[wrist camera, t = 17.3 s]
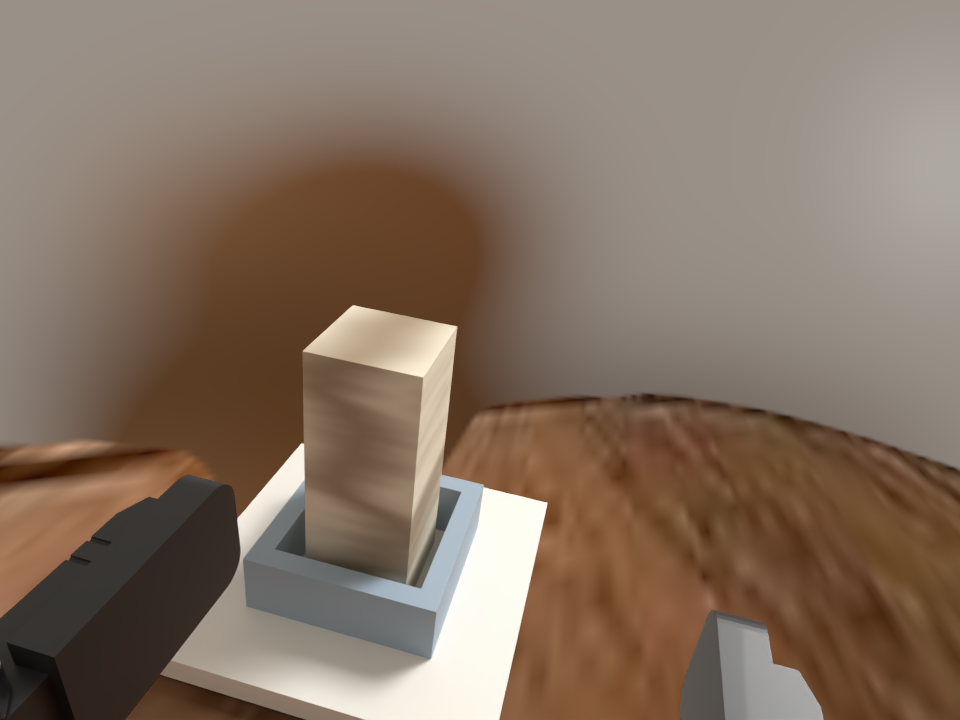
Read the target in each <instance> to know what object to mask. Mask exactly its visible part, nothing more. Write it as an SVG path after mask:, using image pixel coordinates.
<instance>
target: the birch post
mask: <svg viewBox="0 0 960 720" xmlns="http://www.w3.org/2000/svg"><path fill="white" fill-rule="evenodd" d="M456 331H457V327H456V326H451V325H447V324H441V323H436V322H432V321H427V320H422V319H417V318H412V317H407V316H402V315H397V314H393V313H388V312H383V311H378V310H373V309H368V308H363V307H358V306H352V307H350V308H349V309H348V310H347V311H346V312H345V313H344V314H343V315H342V316H341V317H340V318H338V319H337V320H336V321H335V322H334V323H333V324H332V325H331V326H330V327H329V328H328V329H326V330H325V332H323V333H322V334H321V335H320V336H319V337H318V338H317V339H315V341H313V342H312V343H311V344H310V345H309V346H308V347H307V348H306V349H305V350H303V405H304V471H305V538H306V558H309V559H313V560H316V561H320V562H324V563H328V564H331V565H335V566H339V567H342V568H346V569H350V570H354V571H357V572H361V573H365V574H368V575H372V576H376V577H379V578H383V579H387V580H391V581H394V582H398V583H402V584H405V585H409V586H413V587H415V586H416V584H417V582H418V579H419V577H420V574H421V572H422V570H423V567H424V565H425V563H426V560H427V558H428V556H429V553H430V551H431V549H432V546H433V544H434V538H435V529H436V520H437V510H438V501H439V492H440V482H441V473H442V463H443V453H444V444H445V435H446V426H447V417H448V407H449V398H450V388H451V379H452V370H453V360H454V350H455V341H456Z"/></svg>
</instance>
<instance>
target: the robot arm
mask: <svg viewBox="0 0 960 720" xmlns="http://www.w3.org/2000/svg"><path fill="white" fill-rule="evenodd" d="M240 553H241V549H240V539H239V530H238V522H237V513H236V504H235V496H234V491H233V489H232V487H231V486H229V485H226V484H223V483H219V482H215V481H211V480H207V479H203V478H200V477H196V476H192V475H186V476H183V477H181V478H180V479H179V480H177V481H176V482H175V483H174V484H173V485H172V486H171V487H170V488H169V489H168V490H167V491H166V492H165V493H163V494H162V495H161V496H160V497H159V498H158V499H155V498H151V497H148V498H146V499H144V500H142V501H140V502H138V503H136V504H135V505H133V506H131V507H129V508H127V509H125V510H123V511H121V512H119V513H117V514H116V515H115V516H114V517H113V518H111V519H110V520H109V521H108V522H107V523H106V524H105V525H104V526H103V527H101V528H100V529H99V530H98V531H97V532H96V533H95V534H94V535H93V536H92V538H91V540H90V541H86V542H85V543H84V544H83V545H81V546H80V547H79V548H78V549H77V550H76V551H75V552H74V553H73V554H71V557H70V559H69V560H68V561H67V560H65V561H64V562H63V563H61V564H60V565H59V566H58V567H57V568H56V569H55V570H54V571H53V572H51V573H50V574H49V575H48V576H47V577H46V578H45V579H44V580H43V581H41V582H40V583H39V584H38V585H37V586H36V587H35V588H34V589H33V590H31V591H30V592H29V593H28V594H27V595H26V596H25V597H24V598H23V599H21V600H20V601H19V602H18V603H17V604H16V605H15V606H14V607H13V608H11V609H10V610H9V611H8V612H7V613H6V614H5V615H4V616H3V617H1V618H0V720H125V719H126V718H127V716H128V715H129V714H130V713H131V711H132V710H133V709H134V707H135V706H136V705H137V704H138V702H139V701H140V700H141V698H142V697H143V696H144V694H145V693H146V692H147V691H148V689H149V688H150V687H151V685H152V684H153V683H154V682H155V680H156V679H157V678H158V676H159V675H160V674H161V673H162V671H163V670H164V669H165V667H166V666H167V665H168V663H169V662H170V661H171V660H172V658H173V657H174V656H175V654H176V653H177V652H178V651H179V649H180V648H181V647H182V645H183V644H184V643H185V641H186V640H187V639H188V638H189V636H190V635H191V634H192V632H193V631H194V630H195V629H196V627H197V626H198V625H199V623H200V622H201V621H202V620H203V618H204V617H205V616H206V614H207V613H208V612H209V610H210V609H211V608H212V607H213V605H214V604H215V603H216V601H217V600H218V599H219V598H220V596H221V595H222V594H223V592H224V591H225V590H226V588H227V587H228V586H229V584H230V583H231V581H232V579H233V577H234V575H235V573H236V570H237V567H238V564H239V560H240ZM680 720H824V719H823V714H822V710H821V707H820V705H819V703H818V702H817V700H816V698H815V697H814V695H813V694H812V692H811V690H810V689H809V687H808V685H807V684H806V682H805V680H804V679H803V677H802V676H801V674H800V672H799V671H798V670H795V669H791V668H787V667H784V666H780V665H776V664H773V661H772V655H771V649H770V643H769V637H768V631H767V628H766V626H765V624H764V623H763V622H759V621H755V620H751V619H747V618H743V617H739V616H735V615H731V614H727V613H723V612H719V611H715V610H711V611H710V612H709V614H708V616H707V619H706V621H705V624H704V627H703V629H702V632H701V635H700V637H699V640H698V643H697V645H696V648H695V651H694V653H693V656H692V659H691V662H690V664H689V667H688V670H687V672H686V676H685V680H684V684H683V690H682V697H681V707H680Z"/></svg>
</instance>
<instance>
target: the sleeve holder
mask: <svg viewBox="0 0 960 720" xmlns="http://www.w3.org/2000/svg"><path fill="white" fill-rule="evenodd" d="M546 507H547V503H546V502H541V501H537V500H533V499H529V498H525V497H521V496H517V495H512V494H508V493H504V492H500V491H496V490H492V489H488V488H484V485H482V484H478V483H474V482H470V481H465V480H461V479H457V478H453V477H449V476H445V475H441V482H440V492H439V501H438V510H437V520H436V529H435V538H434V544H433V546H432V549H431V551H430V553H429V556H428V558H427V560H426V563H425V565H424V567H423V570H422V572H421V574H420V577H419V579H418V582H417V584H416V586H415V587H413V586H409V585H405V584H402V583H398V582H394V581H391V580H387V579H383V578H379V577H376V576H372V575H368V574H365V573H361V572H357V571H354V570H350V569H346V568H342V567H339V566H335V565H331V564H328V563H324V562H320V561H316V560H313V559H309V558H306V538H305V471H304V444H301V445H300V446H299V447H298V449H296V451H295V452H294V453H293V454H292V455H291V456H290V458H289V459H288V460H287V461H286V462H285V463H284V465H283V466H282V467H281V468H280V469H279V470H278V472H277V473H276V474H275V475H274V476H273V478H272V479H271V480H270V481H269V482H268V483H267V485H266V486H265V487H264V488H263V489H262V491H261V492H260V493H259V494H258V495H257V496H256V497H255V499H254V500H253V501H252V502H251V503H250V504H249V506H248V507H247V508H246V509H245V510H244V512H243V513H242V514H241V515H240V516H239V517H238V519H237V522H238V530H239V539H240V549H241V553H240V560H239V564H238V567H237V570H236V573H235V575H234V577H233V579H232V581H231V583H230V584H229V586H228V587H227V588H226V590H225V591H224V592H223V594H222V595H221V596H220V598H219V599H218V600H217V601H216V603H215V604H214V605H213V607H212V608H211V609H210V610H209V612H208V613H207V614H206V616H205V617H204V618H203V620H202V621H201V622H200V623H199V625H198V626H197V627H196V629H195V630H194V631H193V632H192V634H191V635H190V636H189V638H188V639H187V640H186V641H185V643H184V644H183V645H182V647H181V648H180V649H179V651H178V652H177V653H176V654H175V656H174V657H173V658H172V660H171V661H170V662H169V663H168V665H167V666H166V667H165V669H164V670H163V671H162V673H161V674H160V675H163V676H166V677H170V678H173V679H176V680H179V681H182V682H186V683H189V684H192V685H195V686H199V687H202V688H205V689H208V690H211V691H215V692H218V693H221V694H224V695H228V696H231V697H234V698H237V699H240V700H244V701H247V702H250V703H253V704H257V705H260V706H263V707H266V708H269V709H273V710H276V711H279V712H282V713H286V714H289V715H292V716H295V717H299V718H302V719H305V720H499V718H500V714H501V709H502V705H503V701H504V696H505V692H506V687H507V683H508V678H509V674H510V669H511V665H512V660H513V656H514V651H515V647H516V642H517V638H518V633H519V629H520V624H521V620H522V616H523V611H524V607H525V602H526V598H527V593H528V589H529V584H530V580H531V575H532V571H533V566H534V562H535V557H536V553H537V548H538V544H539V540H540V535H541V531H542V526H543V522H544V517H545V512H546Z"/></svg>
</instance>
